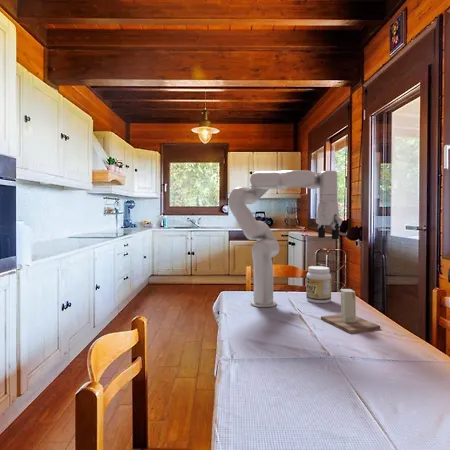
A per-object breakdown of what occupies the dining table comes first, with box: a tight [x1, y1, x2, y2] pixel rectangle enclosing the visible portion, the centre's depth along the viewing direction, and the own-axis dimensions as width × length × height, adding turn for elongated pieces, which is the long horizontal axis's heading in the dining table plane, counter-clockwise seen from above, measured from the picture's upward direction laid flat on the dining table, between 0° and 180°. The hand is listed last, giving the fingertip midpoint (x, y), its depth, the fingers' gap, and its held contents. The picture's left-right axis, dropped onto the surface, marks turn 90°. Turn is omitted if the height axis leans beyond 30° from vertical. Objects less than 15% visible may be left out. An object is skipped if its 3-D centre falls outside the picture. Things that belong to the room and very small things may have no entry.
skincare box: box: [340, 288, 357, 323], centre depth 134 cm, size 6×4×12 cm
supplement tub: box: [305, 265, 332, 304], centre depth 170 cm, size 12×12×17 cm
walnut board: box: [320, 313, 381, 335], centre depth 134 cm, size 18×14×1 cm
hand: (328, 238), depth 147 cm, fingers open, 9 cm apart
